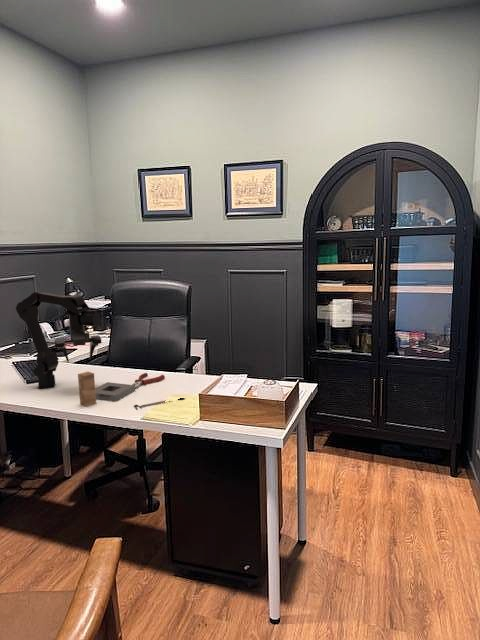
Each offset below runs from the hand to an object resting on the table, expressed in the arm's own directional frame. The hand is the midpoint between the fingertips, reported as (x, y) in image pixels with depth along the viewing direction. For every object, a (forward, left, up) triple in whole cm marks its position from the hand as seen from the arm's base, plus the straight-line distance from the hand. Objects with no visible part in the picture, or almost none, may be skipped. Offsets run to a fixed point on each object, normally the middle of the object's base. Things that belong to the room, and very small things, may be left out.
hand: (79, 360), depth 196 cm
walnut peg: (+1, -20, -13) cm, 24 cm away
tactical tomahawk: (+27, -33, -14) cm, 45 cm away
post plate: (+11, -12, -13) cm, 21 cm away
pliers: (+26, -1, -14) cm, 30 cm away
